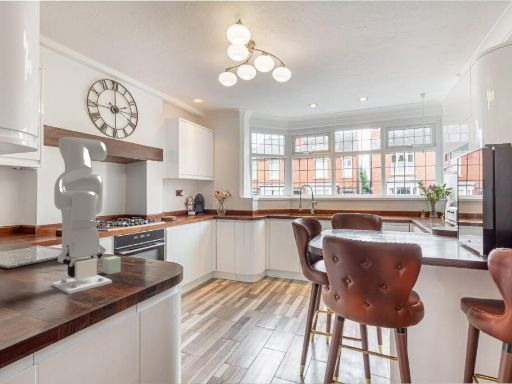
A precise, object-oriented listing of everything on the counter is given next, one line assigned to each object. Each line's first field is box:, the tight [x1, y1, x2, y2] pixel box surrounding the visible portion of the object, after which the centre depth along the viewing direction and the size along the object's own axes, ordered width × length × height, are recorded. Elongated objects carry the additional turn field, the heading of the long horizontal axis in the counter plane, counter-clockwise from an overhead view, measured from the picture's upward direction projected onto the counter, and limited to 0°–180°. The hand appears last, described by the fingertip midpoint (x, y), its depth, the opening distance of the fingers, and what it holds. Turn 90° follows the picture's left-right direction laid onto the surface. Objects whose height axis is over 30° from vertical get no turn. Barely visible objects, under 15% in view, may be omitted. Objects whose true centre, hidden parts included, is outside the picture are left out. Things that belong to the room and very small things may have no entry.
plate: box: [51, 274, 113, 295], centre depth 99 cm, size 14×14×2 cm
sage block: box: [102, 255, 122, 275], centre depth 115 cm, size 5×5×6 cm
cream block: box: [70, 256, 98, 280], centre depth 99 cm, size 6×6×6 cm
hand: (82, 274), depth 99 cm, fingers closed on cream block, 6 cm apart
